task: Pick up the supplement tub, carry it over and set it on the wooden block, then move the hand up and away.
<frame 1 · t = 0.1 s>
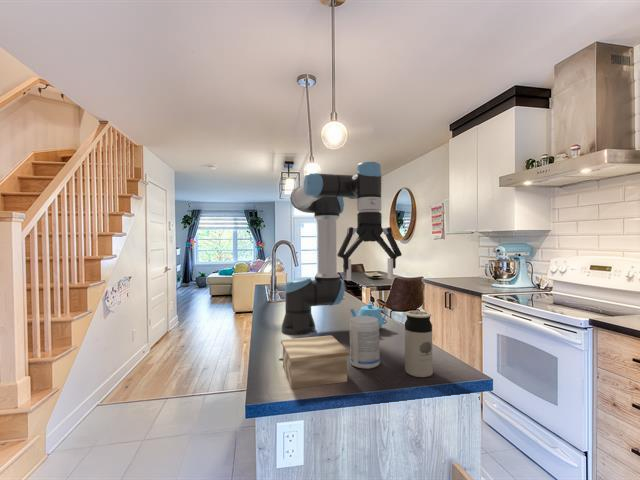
hand: (369, 279, 101), 28 cm above the worktop, tool pointing down, fingers open, 13 cm apart
supplement tub: (364, 364, 105), on the worktop
travel mug: (418, 373, 98), on the worktop
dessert: (298, 356, 114), on the worktop
wooden block: (313, 373, 97), on the worktop
teapot: (368, 329, 146), on the worktop
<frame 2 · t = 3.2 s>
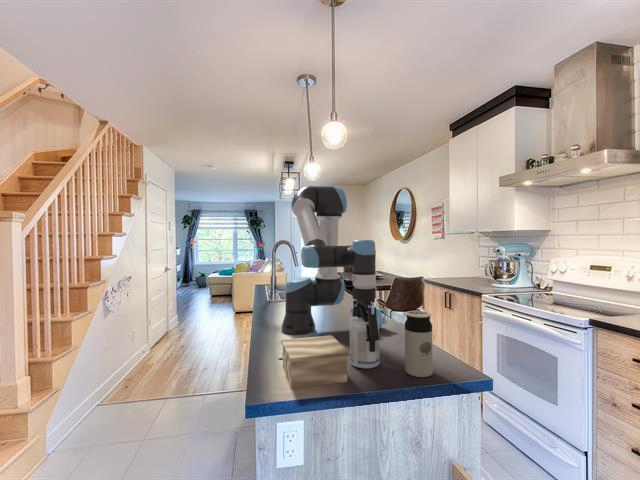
hand: (364, 355, 105), 3 cm above the worktop, tool pointing down, fingers closed on supplement tub, 9 cm apart
supplement tub: (364, 364, 105), on the worktop, touching gripper
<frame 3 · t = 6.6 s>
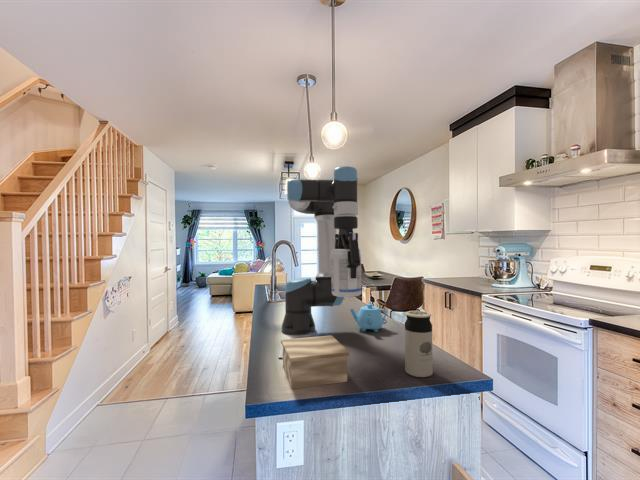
hand: (346, 286, 102), 26 cm above the worktop, tool pointing down, fingers closed on supplement tub, 9 cm apart
supplement tub: (346, 295, 102), point 23 cm above the worktop, touching gripper
when the fingers open (13 cm above the worktop, at t = 10.3 s): supplement tub drops 1 cm, resting on wooden block.
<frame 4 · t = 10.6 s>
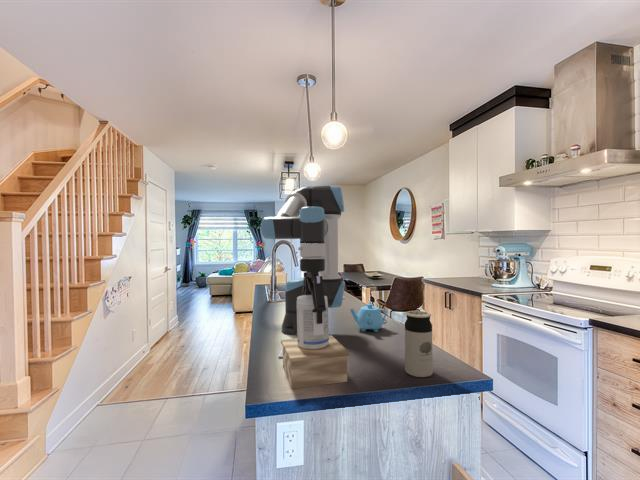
hand: (312, 328, 97), 14 cm above the worktop, tool pointing down, fingers open, 13 cm apart
supplement tub: (312, 345, 98), point 8 cm above the worktop, touching wooden block
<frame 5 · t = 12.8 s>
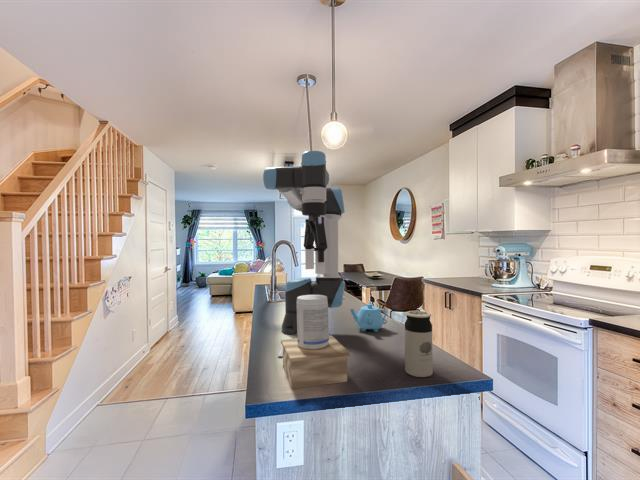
hand: (314, 271, 100), 31 cm above the worktop, tool pointing down, fingers open, 13 cm apart
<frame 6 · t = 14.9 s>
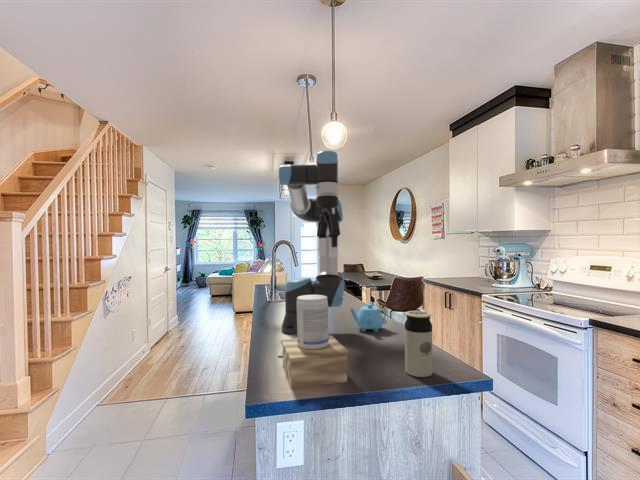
hand: (327, 256, 113), 35 cm above the worktop, tool pointing down, fingers open, 13 cm apart
at the end: supplement tub inside the target area on the wooden block (0.3 cm from its centre), point 8.3 cm above the wooden block's base; supplement tub tilted 0°; the gripper is holding nothing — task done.
